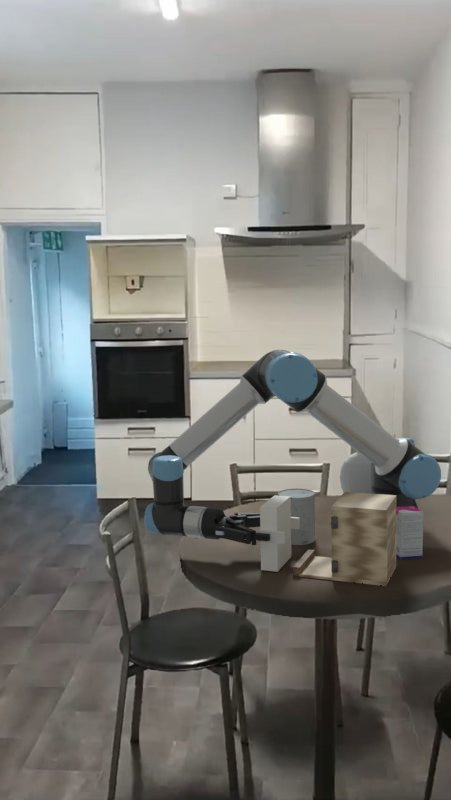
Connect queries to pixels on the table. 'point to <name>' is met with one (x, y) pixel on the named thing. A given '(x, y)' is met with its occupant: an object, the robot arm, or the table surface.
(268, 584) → the table surface
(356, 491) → the soap bottle
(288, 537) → the door
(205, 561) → the table surface
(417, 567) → the table surface
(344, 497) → the cabinet
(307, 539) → the grey cylinder
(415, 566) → the table surface
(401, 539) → the supplement box
